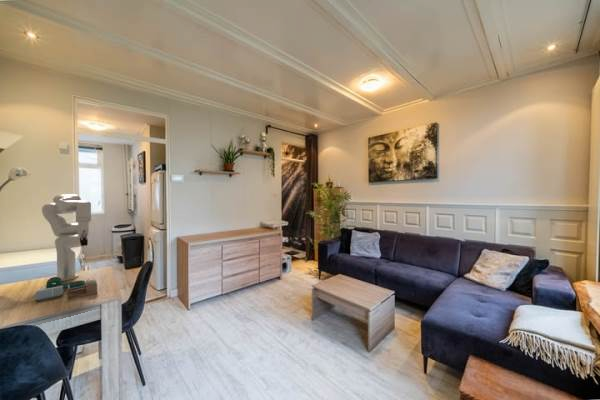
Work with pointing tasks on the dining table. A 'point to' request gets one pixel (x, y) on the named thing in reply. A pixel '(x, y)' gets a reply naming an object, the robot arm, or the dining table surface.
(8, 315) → the dining table surface
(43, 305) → the dining table surface
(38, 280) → the dining table surface
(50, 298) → the mat
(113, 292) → the dining table surface
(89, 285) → the dispenser
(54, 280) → the dark green elongated piece
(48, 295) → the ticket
